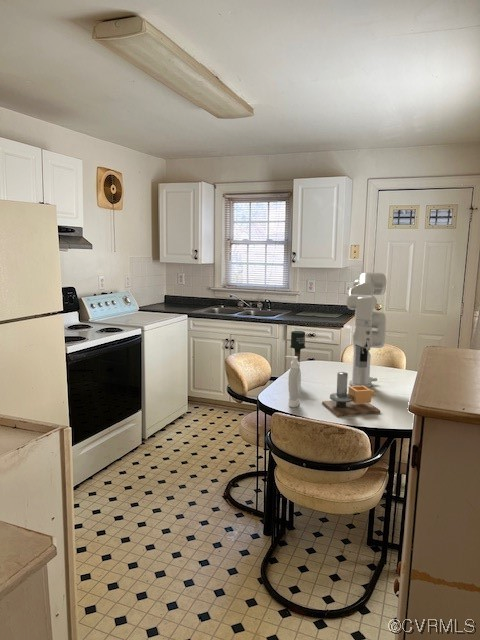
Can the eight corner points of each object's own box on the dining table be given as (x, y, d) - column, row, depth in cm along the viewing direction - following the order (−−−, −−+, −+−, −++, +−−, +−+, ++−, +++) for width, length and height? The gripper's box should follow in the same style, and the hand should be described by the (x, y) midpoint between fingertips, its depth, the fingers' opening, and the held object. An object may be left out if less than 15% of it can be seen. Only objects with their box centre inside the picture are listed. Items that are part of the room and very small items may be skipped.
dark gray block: (362, 365, 231) (363, 345, 229) (366, 367, 227) (367, 346, 225) (355, 365, 230) (356, 345, 228) (359, 367, 226) (360, 347, 224)
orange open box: (369, 396, 237) (369, 385, 236) (377, 401, 229) (378, 389, 228) (348, 398, 234) (348, 386, 233) (355, 403, 226) (356, 391, 225)
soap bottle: (287, 399, 244) (288, 353, 240) (302, 401, 241) (303, 354, 237) (280, 407, 232) (281, 358, 228) (295, 409, 229) (297, 360, 225)
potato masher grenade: (294, 386, 267) (296, 333, 262) (286, 382, 274) (287, 331, 270) (307, 384, 271) (308, 332, 266) (298, 380, 278) (300, 330, 273)
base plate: (362, 401, 242) (362, 398, 242) (380, 413, 225) (380, 410, 224) (322, 404, 237) (322, 401, 237) (337, 416, 220) (337, 413, 219)
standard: (346, 402, 236) (348, 369, 233) (356, 409, 225) (358, 375, 223) (325, 403, 233) (327, 370, 231) (335, 411, 223) (336, 377, 220)
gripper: (379, 325, 218) (377, 364, 221) (362, 319, 234) (360, 356, 237) (364, 325, 216) (362, 364, 219) (348, 320, 232) (346, 356, 235)
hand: (361, 359), depth 228 cm, fingers closed on dark gray block, 4 cm apart
